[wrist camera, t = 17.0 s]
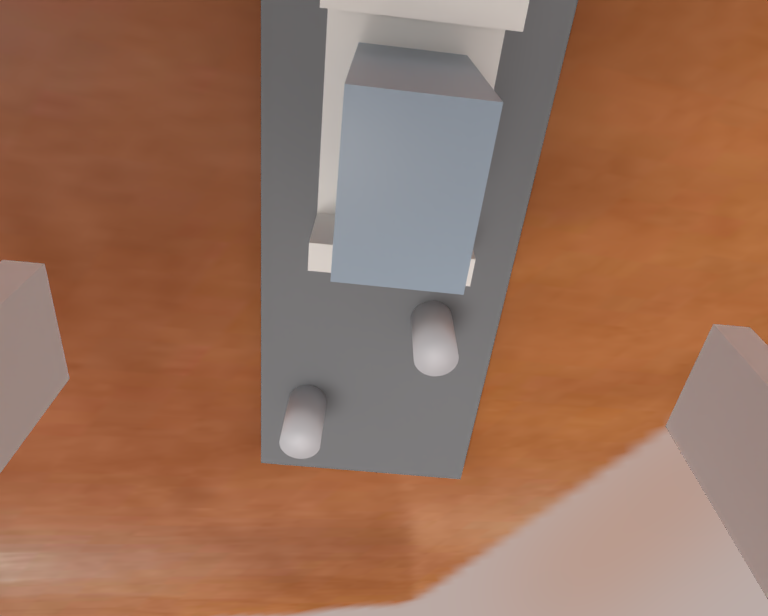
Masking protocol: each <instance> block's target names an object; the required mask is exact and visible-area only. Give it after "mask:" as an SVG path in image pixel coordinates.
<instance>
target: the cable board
mask: <svg viewBox="0 0 768 616" xmlns="http://www.w3.org/2000/svg"><path fill="white" fill-rule="evenodd" d="M577 2H578V0H261V463H270V464H282V465H294V466H306V467H318V468H331V469H343V470H355V471H367V472H379V473H392V474H404V475H416V476H428V477H440V478H453V479H461V475H462V471H463V467H464V463H465V459H466V455H467V450H468V446H469V442H470V438H471V434H472V430H473V426H474V422H475V418H476V414H477V410H478V406H479V402H480V397H481V393H482V389H483V385H484V381H485V377H486V373H487V369H488V365H489V361H490V357H491V353H492V349H493V345H494V340H495V336H496V332H497V328H498V324H499V320H500V316H501V312H502V308H503V304H504V300H505V296H506V292H507V288H508V283H509V279H510V275H511V271H512V267H513V263H514V259H515V255H516V251H517V247H518V243H519V239H520V235H521V231H522V226H523V222H524V218H525V214H526V210H527V206H528V202H529V198H530V194H531V190H532V186H533V182H534V178H535V173H536V169H537V165H538V161H539V157H540V153H541V149H542V145H543V141H544V137H545V133H546V129H547V125H548V121H549V116H550V112H551V108H552V104H553V100H554V96H555V92H556V88H557V84H558V80H559V76H560V72H561V68H562V64H563V59H564V55H565V51H566V47H567V43H568V39H569V35H570V31H571V27H572V23H573V19H574V15H575V11H576V6H577ZM359 42H361V43H369V44H378V45H386V46H394V47H403V48H411V49H419V50H428V51H436V52H444V53H453V54H461V55H467V56H468V57H469V58H470V60H471V61H472V62H473V63H474V65H475V66H476V67H477V69H478V70H479V71H480V73H481V74H482V75H483V77H484V78H485V79H486V80H487V82H488V83H489V84H490V86H491V87H492V88H493V90H494V91H495V92H496V93H497V95H498V96H499V97H500V99H501V100H502V101H503V106H502V111H501V116H500V121H499V126H498V131H497V135H496V140H495V145H494V150H493V155H492V160H491V164H490V169H489V174H488V179H487V184H486V189H485V194H484V198H483V203H482V208H481V213H480V218H479V223H478V227H477V232H476V237H475V242H474V247H473V252H472V257H471V261H470V266H469V271H468V276H467V281H466V286H465V290H464V295H460V294H450V293H440V292H430V291H420V290H410V289H400V288H390V287H380V286H370V285H360V284H350V283H340V282H330V279H331V265H332V251H333V237H334V223H335V209H336V195H337V181H338V167H339V153H340V139H341V125H342V111H343V97H344V84H345V81H346V78H347V75H348V72H349V69H350V66H351V63H352V60H353V57H354V55H355V52H356V49H357V46H358V43H359Z"/></svg>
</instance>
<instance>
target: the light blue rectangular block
mask: <svg viewBox="0 0 768 616" xmlns="http://www.w3.org/2000/svg"><path fill="white" fill-rule="evenodd" d="M502 106H503V101H502V100H501V99H500V97H499V96H498V95H497V93H496V92H495V91H494V90H493V88H492V87H491V86H490V84H489V83H488V82H487V80H486V79H485V78H484V77H483V75H482V74H481V73H480V71H479V70H478V69H477V67H476V66H475V65H474V63H473V62H472V61H471V60H470V58H469V57H468V56H467V55H461V54H453V53H444V52H436V51H428V50H419V49H411V48H403V47H394V46H386V45H378V44H369V43H361V42H359V43H358V46H357V49H356V52H355V55H354V57H353V60H352V63H351V66H350V69H349V72H348V75H347V78H346V81H345V84H344V97H343V111H342V125H341V139H340V153H339V167H338V181H337V195H336V209H335V223H334V237H333V251H332V265H331V279H330V282H340V283H350V284H360V285H370V286H380V287H390V288H400V289H410V290H420V291H430V292H440V293H450V294H460V295H464V290H465V286H466V281H467V276H468V271H469V266H470V261H471V257H472V252H473V247H474V242H475V237H476V232H477V227H478V223H479V218H480V213H481V208H482V203H483V198H484V194H485V189H486V184H487V179H488V174H489V169H490V164H491V160H492V155H493V150H494V145H495V140H496V135H497V131H498V126H499V121H500V116H501V111H502Z"/></svg>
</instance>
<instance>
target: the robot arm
mask: <svg viewBox="0 0 768 616" xmlns="http://www.w3.org/2000/svg"><path fill="white" fill-rule="evenodd" d="M68 380H69V374H68V369H67V365H66V360H65V356H64V351H63V346H62V342H61V337H60V332H59V328H58V323H57V319H56V314H55V309H54V305H53V300H52V296H51V291H50V286H49V282H48V277H47V272H46V268H45V264H43V263H32V262H21V261H9V260H2V261H1V262H0V473H1V471H2V470H3V469H4V467H5V466H6V465H7V463H8V462H9V460H10V459H11V458H12V456H13V455H14V454H15V452H16V451H17V450H18V448H19V447H20V445H21V444H22V443H23V441H24V440H25V439H26V437H27V436H28V435H29V433H30V432H31V430H32V429H33V428H34V426H35V425H36V424H37V422H38V421H39V420H40V418H41V417H42V415H43V414H44V413H45V411H46V410H47V409H48V407H49V406H50V404H51V403H52V402H53V400H54V399H55V398H56V396H57V395H58V394H59V392H60V391H61V389H62V388H63V387H64V385H65V384H66V383H67V381H68ZM666 428H667V430H668V432H669V433H670V435H671V437H672V438H673V440H674V442H675V443H676V445H677V447H678V448H679V450H680V451H681V453H682V455H683V457H684V458H685V460H686V462H687V464H688V465H689V467H690V468H691V470H692V472H693V474H694V475H695V477H696V479H697V480H698V482H699V484H700V486H701V487H702V489H703V491H704V492H705V494H706V495H707V497H708V499H709V501H710V503H711V504H712V506H713V507H714V509H715V511H716V513H717V514H718V516H719V518H720V519H721V521H722V523H723V524H724V526H725V528H726V530H727V531H728V533H729V535H730V536H731V538H732V540H733V541H734V543H735V545H736V547H737V548H738V550H739V551H740V553H741V555H742V557H743V558H744V560H745V562H746V563H747V565H748V567H749V569H750V570H751V572H752V574H753V575H754V577H755V579H756V580H757V582H758V584H759V585H760V587H761V589H762V590H763V592H764V594H765V596H766V597H767V599H768V345H767V344H766V343H765V342H764V341H763V340H762V339H761V338H760V337H759V336H758V335H757V334H756V333H755V332H754V331H753V330H752V329H751V328H750V327H740V326H729V325H718V324H713V326H712V328H711V330H710V332H709V334H708V337H707V339H706V341H705V343H704V345H703V347H702V349H701V352H700V354H699V356H698V358H697V360H696V362H695V364H694V366H693V369H692V371H691V373H690V375H689V377H688V379H687V381H686V384H685V386H684V388H683V390H682V392H681V394H680V396H679V399H678V401H677V403H676V405H675V407H674V409H673V411H672V413H671V416H670V418H669V420H668V422H667V424H666Z"/></svg>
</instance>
